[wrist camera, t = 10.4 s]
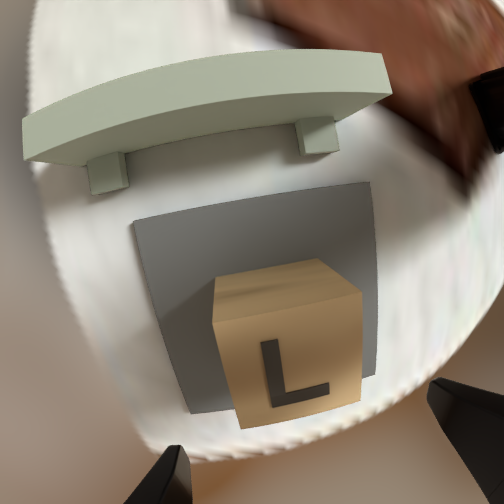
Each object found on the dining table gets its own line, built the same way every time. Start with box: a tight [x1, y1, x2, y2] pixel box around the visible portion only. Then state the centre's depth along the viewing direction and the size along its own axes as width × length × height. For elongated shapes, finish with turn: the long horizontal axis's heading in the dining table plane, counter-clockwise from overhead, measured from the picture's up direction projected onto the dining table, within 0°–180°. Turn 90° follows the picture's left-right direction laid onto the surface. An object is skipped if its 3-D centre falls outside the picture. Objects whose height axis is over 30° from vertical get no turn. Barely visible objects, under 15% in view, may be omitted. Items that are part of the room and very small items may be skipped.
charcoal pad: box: [133, 182, 378, 414], centre depth 18 cm, size 14×14×1 cm
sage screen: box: [22, 49, 392, 195], centre depth 12 cm, size 6×16×6 cm, turn 99°
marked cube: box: [212, 258, 363, 429], centre depth 14 cm, size 6×6×6 cm
